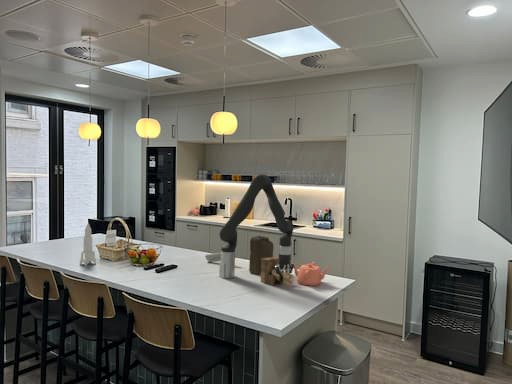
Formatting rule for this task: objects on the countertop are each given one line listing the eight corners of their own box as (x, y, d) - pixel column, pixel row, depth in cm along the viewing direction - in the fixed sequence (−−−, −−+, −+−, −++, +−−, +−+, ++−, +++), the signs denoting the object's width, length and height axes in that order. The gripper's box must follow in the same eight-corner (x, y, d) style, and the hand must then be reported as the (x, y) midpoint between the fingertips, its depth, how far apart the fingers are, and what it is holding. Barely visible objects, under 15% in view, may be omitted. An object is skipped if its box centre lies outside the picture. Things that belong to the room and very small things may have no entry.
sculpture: (96, 263, 269) (96, 222, 267) (85, 266, 262) (85, 223, 260) (90, 262, 272) (90, 221, 271) (79, 264, 265) (79, 222, 264)
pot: (314, 278, 251) (315, 259, 250) (329, 285, 235) (329, 266, 234) (290, 280, 244) (290, 261, 243) (303, 288, 228) (304, 268, 227)
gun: (236, 265, 274) (233, 251, 274) (207, 268, 284) (204, 255, 284) (237, 264, 276) (235, 250, 277) (208, 267, 286) (206, 254, 287)
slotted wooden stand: (269, 286, 230) (270, 262, 229) (259, 281, 238) (260, 258, 237) (285, 283, 237) (286, 259, 236) (275, 279, 246) (276, 256, 245)
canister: (257, 275, 253) (258, 238, 251) (247, 273, 258) (249, 237, 256) (273, 270, 267) (274, 235, 266) (264, 268, 273) (265, 234, 271)
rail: (287, 284, 222) (288, 275, 222) (271, 277, 236) (271, 269, 236) (292, 283, 224) (292, 275, 224) (275, 276, 238) (275, 268, 238)
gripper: (279, 255, 220) (278, 284, 221) (297, 253, 228) (296, 280, 229) (271, 252, 226) (271, 280, 227) (290, 250, 234) (289, 277, 235)
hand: (284, 280), depth 228 cm, fingers closed on rail, 3 cm apart
